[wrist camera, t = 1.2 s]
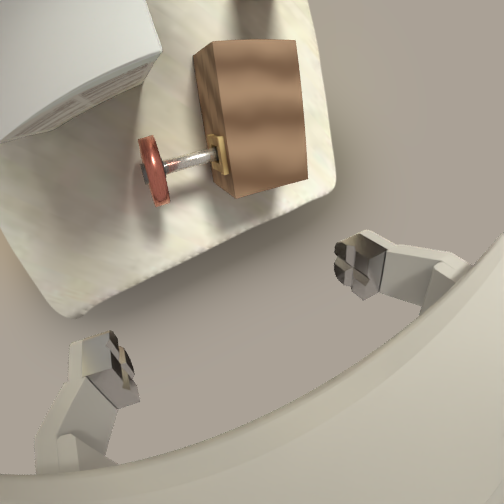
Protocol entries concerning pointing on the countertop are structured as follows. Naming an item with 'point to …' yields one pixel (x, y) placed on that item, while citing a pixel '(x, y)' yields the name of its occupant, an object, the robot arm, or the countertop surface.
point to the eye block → (252, 113)
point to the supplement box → (69, 59)
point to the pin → (167, 167)
